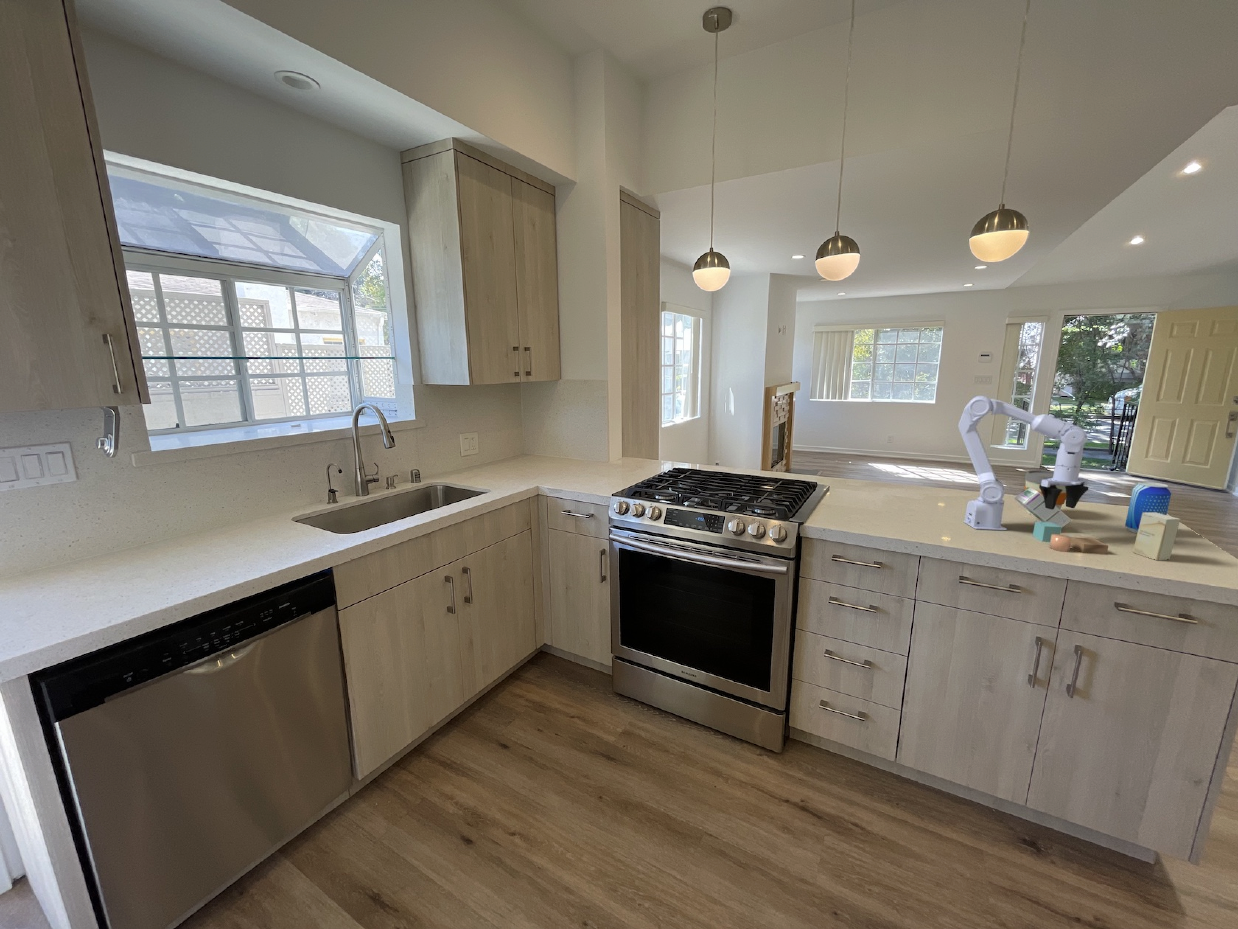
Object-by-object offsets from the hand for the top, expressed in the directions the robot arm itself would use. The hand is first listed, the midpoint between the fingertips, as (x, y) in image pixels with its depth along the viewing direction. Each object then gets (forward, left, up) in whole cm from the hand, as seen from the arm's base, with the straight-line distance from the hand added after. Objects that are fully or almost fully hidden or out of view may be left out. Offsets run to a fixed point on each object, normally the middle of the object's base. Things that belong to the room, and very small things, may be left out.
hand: (1059, 508), depth 153 cm
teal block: (-4, -3, -10) cm, 11 cm away
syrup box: (+6, +8, -7) cm, 12 cm away
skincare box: (+16, -14, -10) cm, 23 cm away
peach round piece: (-6, -11, -10) cm, 16 cm away
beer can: (+31, +9, -10) cm, 33 cm away
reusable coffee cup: (+12, +26, -10) cm, 30 cm away
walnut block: (+2, -11, -10) cm, 15 cm away
